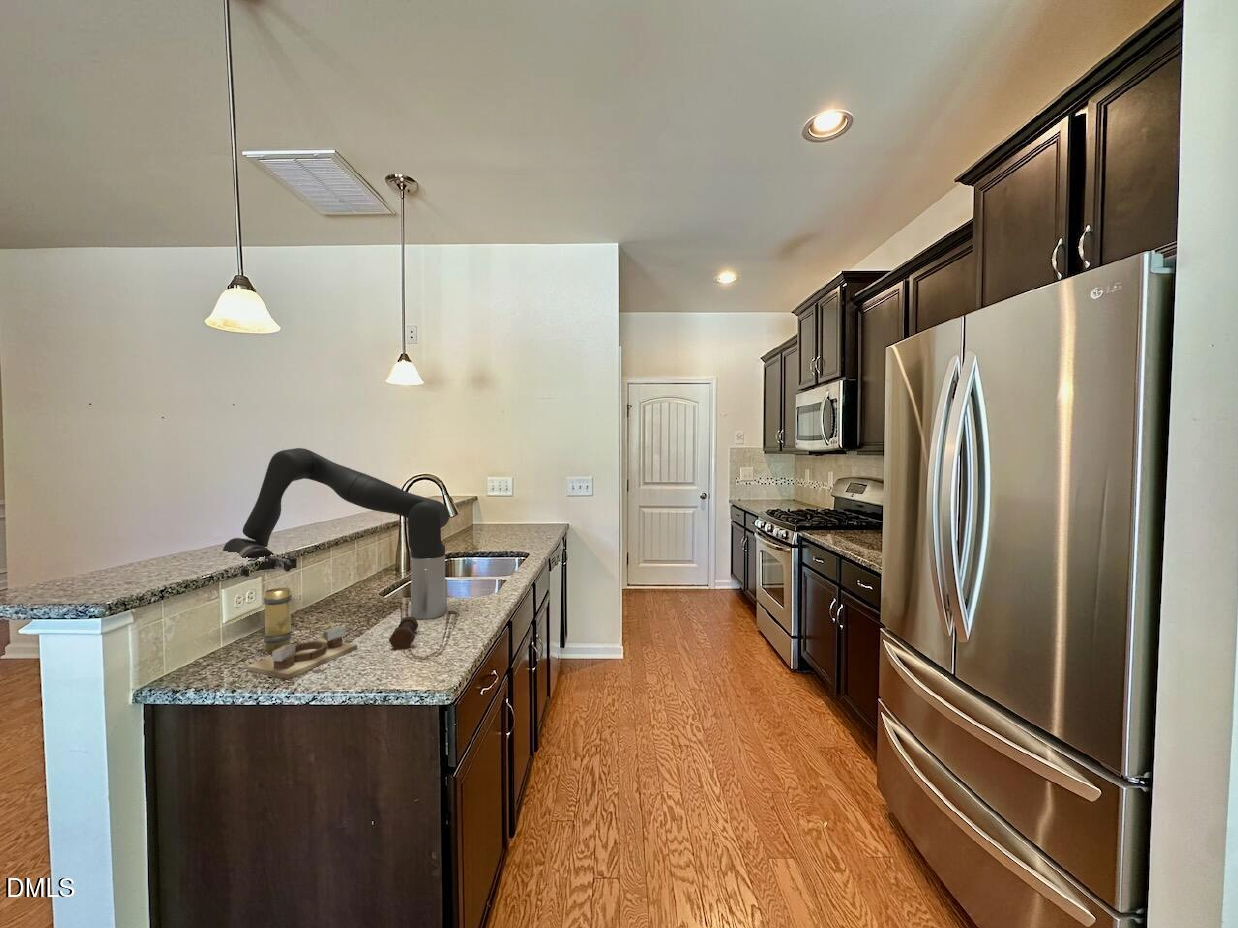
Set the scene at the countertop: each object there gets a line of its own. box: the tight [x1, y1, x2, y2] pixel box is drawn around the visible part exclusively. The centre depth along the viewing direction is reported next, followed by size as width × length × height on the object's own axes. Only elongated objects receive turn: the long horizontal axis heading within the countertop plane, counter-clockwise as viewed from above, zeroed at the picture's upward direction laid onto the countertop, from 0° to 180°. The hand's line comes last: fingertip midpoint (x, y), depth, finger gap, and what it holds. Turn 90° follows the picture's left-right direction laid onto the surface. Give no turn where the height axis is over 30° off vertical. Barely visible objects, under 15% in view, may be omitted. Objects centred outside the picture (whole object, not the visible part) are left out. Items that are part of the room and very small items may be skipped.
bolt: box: [388, 615, 419, 651], centre depth 122 cm, size 6×5×15 cm
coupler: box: [263, 587, 293, 654], centre depth 114 cm, size 5×5×14 cm
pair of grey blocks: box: [271, 625, 346, 661], centre depth 108 cm, size 17×3×2 cm, turn 161°
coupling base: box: [246, 637, 358, 680], centre depth 109 cm, size 17×12×3 cm
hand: (268, 570), depth 121 cm, fingers open, 8 cm apart
